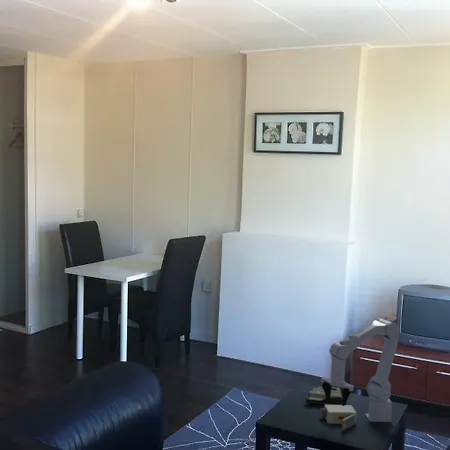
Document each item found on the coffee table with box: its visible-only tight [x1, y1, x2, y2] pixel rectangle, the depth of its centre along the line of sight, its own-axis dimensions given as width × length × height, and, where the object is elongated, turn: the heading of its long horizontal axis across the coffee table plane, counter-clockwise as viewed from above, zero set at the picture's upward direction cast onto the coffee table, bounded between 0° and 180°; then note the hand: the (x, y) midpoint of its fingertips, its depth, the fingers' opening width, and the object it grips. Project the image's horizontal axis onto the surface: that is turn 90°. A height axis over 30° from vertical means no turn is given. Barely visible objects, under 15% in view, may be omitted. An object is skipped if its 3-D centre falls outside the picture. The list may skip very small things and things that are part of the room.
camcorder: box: [304, 386, 342, 405], centre depth 285 cm, size 16×20×5 cm
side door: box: [341, 413, 357, 432], centre depth 255 cm, size 10×2×4 cm, turn 138°
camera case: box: [319, 404, 357, 425], centre depth 263 cm, size 14×8×5 cm, turn 93°
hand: (335, 402), depth 256 cm, fingers open, 7 cm apart
